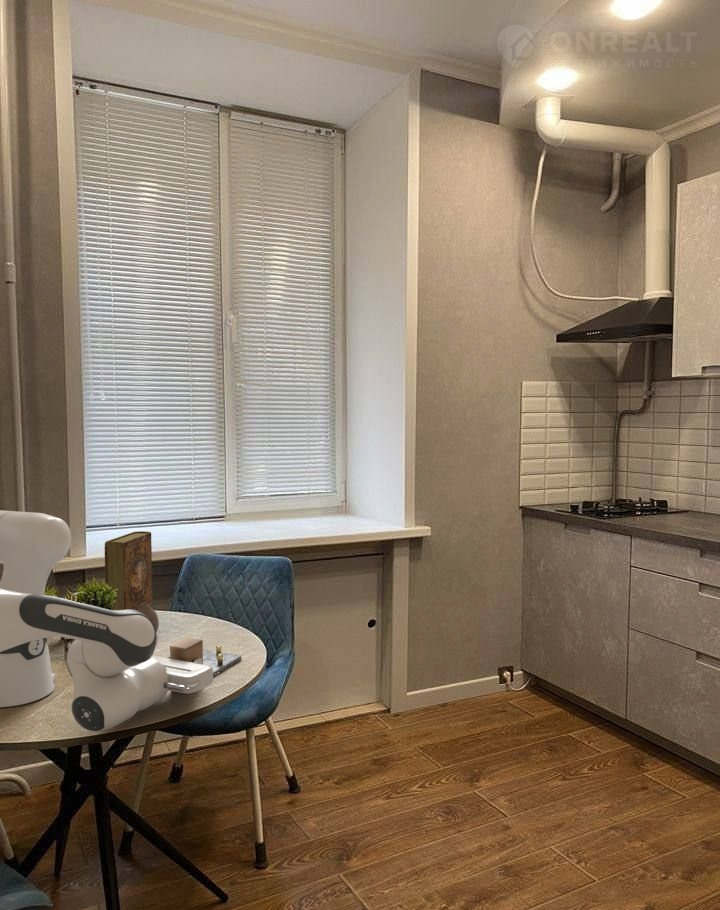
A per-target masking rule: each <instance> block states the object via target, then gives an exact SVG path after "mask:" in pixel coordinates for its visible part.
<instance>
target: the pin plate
mask: <svg viewBox="0 0 720 910" xmlns="http://www.w3.org/2000/svg"><path fill="white" fill-rule="evenodd" d="M239 660H240V661H242V655H238V654H235V653H228V652H227V653H226V652H224V651H223V652H222V645H219V644H218V645H216V647H215V650H211V649H204V648H203V664H204V665H209V666H212V669H213V677H215V676H216V675H215V674H217V673H218V672H220V671H222V670H223V671H225V670H226V668H227V667H228V668H230V667H231V665H232V664H233V665H235V664H237V663H238V662H240V661H239ZM236 662H237V663H236ZM234 663H235V664H234ZM233 665H232V666H233ZM229 666H230V667H229ZM228 668H227V669H228ZM224 669H225V670H224ZM223 671H222V672H223ZM220 673H221V672H220ZM218 674H219V673H218ZM218 674H217V675H218ZM214 675H215V676H214Z"/></svg>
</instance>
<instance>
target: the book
mask: <svg viewBox="0 0 720 910" xmlns="http://www.w3.org/2000/svg"><path fill="white" fill-rule="evenodd" d="M152 552H153V549H152V532H151V531H144V530H143V531H142V530H141V531H132V532H129V533H126V534H124V535H120V536H118V537H114V538H111V539H110V540H109V539H108V540H106V541H105V542H104V581H105V582H104V584H105V583H107V584H108V585H109V586H110V587H113V588H117V589H118V591H117V598H116V602H115V605H114V610H126V609H132V610H136V611H137V610H138V608H139V606H140V604H142V603H149V604H150V606H151V608H152V609H153V561H152V560H153V559H152V557H153V556H152V555H153V553H152ZM117 589H116V590H117ZM153 610H154V609H153Z"/></svg>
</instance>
